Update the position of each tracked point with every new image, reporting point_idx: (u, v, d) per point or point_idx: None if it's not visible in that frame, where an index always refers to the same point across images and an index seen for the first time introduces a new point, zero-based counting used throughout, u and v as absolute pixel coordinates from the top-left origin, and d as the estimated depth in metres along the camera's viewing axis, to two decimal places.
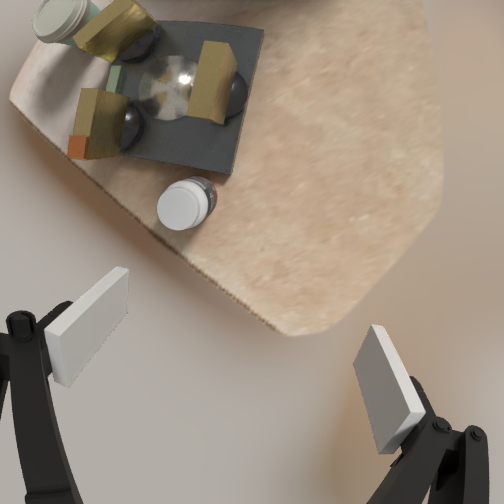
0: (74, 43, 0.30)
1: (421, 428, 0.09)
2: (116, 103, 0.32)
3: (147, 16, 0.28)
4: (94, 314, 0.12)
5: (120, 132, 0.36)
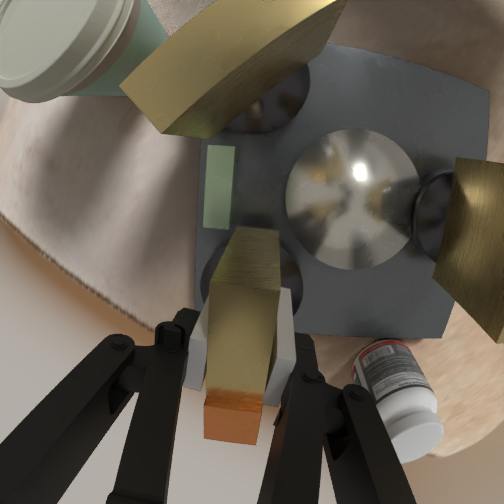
0: (101, 92, 0.14)
1: (290, 383, 0.11)
2: None
3: (329, 33, 0.11)
4: None
5: None
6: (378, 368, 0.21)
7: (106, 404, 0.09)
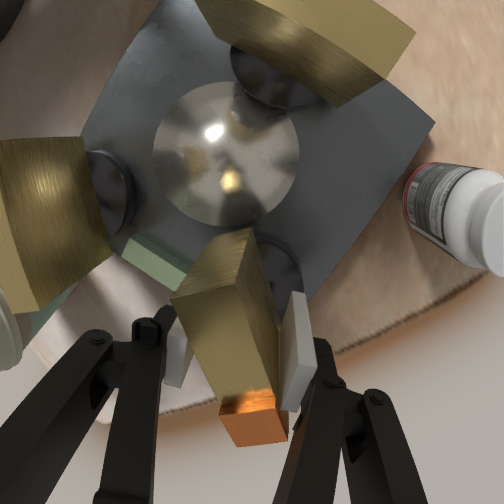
0: (48, 308, 0.19)
1: (312, 388, 0.11)
2: (254, 264, 0.15)
3: (47, 140, 0.13)
4: None
5: (274, 304, 0.19)
6: (420, 212, 0.17)
7: (88, 400, 0.08)
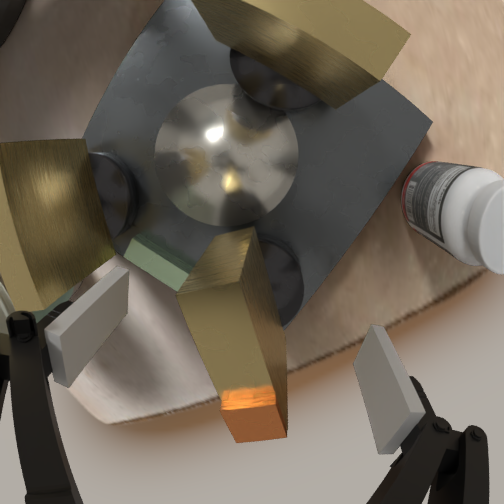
0: (51, 308, 0.19)
1: (421, 428, 0.09)
2: (256, 263, 0.16)
3: (51, 142, 0.14)
4: (94, 314, 0.12)
5: (274, 303, 0.19)
6: (418, 210, 0.18)
7: None
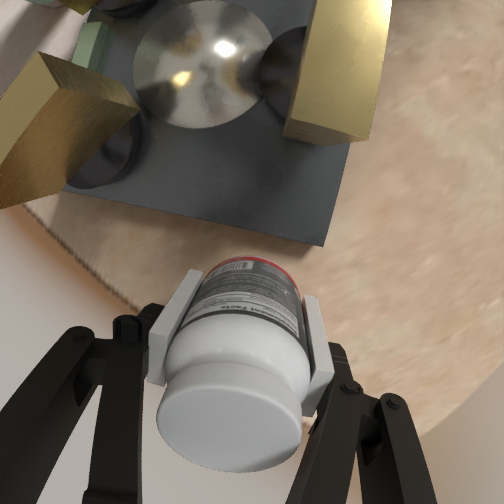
0: None
1: (329, 392, 0.11)
2: (100, 118, 0.13)
3: None
4: (184, 315, 0.14)
5: (81, 162, 0.16)
6: (212, 284, 0.14)
7: (72, 396, 0.08)
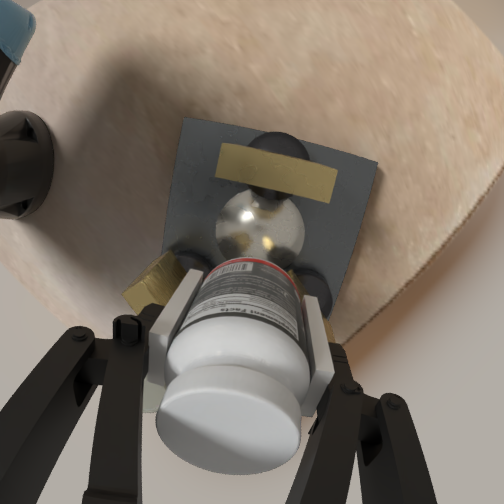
0: None
1: (329, 392, 0.11)
2: (300, 291, 0.29)
3: (159, 263, 0.28)
4: (184, 315, 0.14)
5: None
6: (211, 286, 0.14)
7: (73, 396, 0.08)
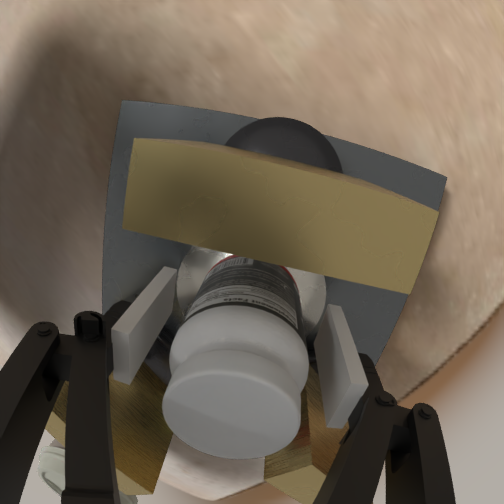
0: None
1: (364, 403, 0.10)
2: (316, 402, 0.15)
3: None
4: (152, 312, 0.13)
5: None
6: (214, 279, 0.15)
7: (42, 391, 0.08)
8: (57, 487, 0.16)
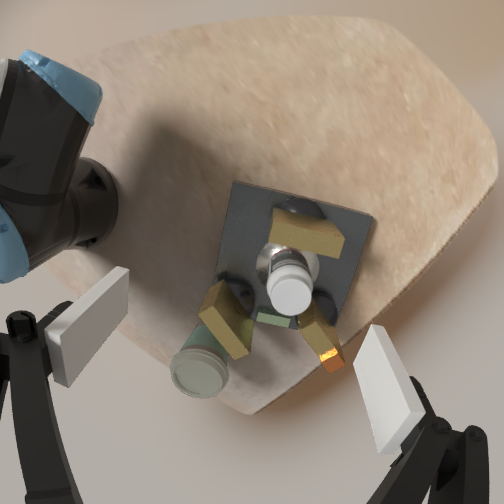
0: None
1: (421, 428, 0.09)
2: (316, 309, 0.42)
3: (219, 291, 0.41)
4: (94, 314, 0.12)
5: (326, 318, 0.45)
6: (278, 258, 0.41)
7: None
8: (178, 381, 0.42)
